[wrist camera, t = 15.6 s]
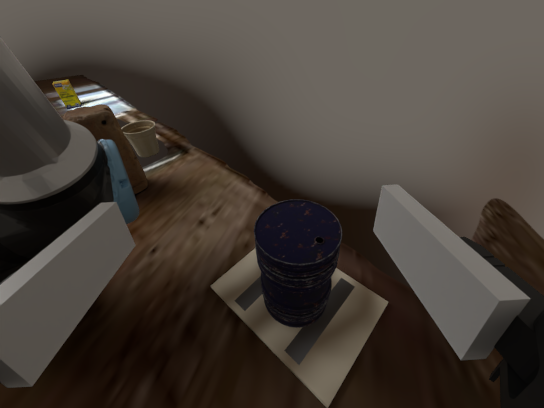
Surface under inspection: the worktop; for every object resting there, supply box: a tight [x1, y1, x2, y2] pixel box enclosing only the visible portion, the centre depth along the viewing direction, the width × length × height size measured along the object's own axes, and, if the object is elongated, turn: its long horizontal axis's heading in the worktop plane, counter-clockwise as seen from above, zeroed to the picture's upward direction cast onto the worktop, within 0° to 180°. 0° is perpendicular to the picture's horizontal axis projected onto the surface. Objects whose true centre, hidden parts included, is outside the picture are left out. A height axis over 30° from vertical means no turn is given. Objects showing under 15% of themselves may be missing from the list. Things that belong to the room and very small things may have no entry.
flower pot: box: [121, 120, 159, 157], centre depth 71 cm, size 9×9×9 cm
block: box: [63, 105, 148, 194], centre depth 53 cm, size 11×8×20 cm
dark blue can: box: [254, 200, 342, 328], centre depth 31 cm, size 10×10×15 cm
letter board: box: [211, 248, 388, 408], centre depth 36 cm, size 22×16×1 cm
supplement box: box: [53, 80, 81, 109], centre depth 111 cm, size 6×6×11 cm
